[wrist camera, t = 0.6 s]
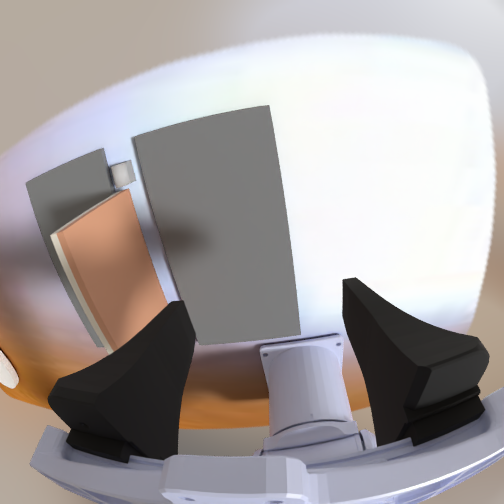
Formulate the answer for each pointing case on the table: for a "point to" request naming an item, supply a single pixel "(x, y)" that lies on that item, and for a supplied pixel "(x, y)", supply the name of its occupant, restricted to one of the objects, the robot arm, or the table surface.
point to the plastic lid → (7, 372)
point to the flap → (111, 269)
